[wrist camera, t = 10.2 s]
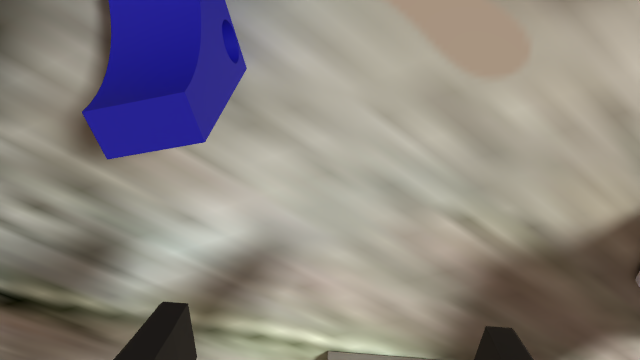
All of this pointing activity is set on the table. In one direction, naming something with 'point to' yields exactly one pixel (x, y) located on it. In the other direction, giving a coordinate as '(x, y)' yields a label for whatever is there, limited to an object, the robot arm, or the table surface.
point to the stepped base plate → (364, 357)
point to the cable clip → (164, 75)
